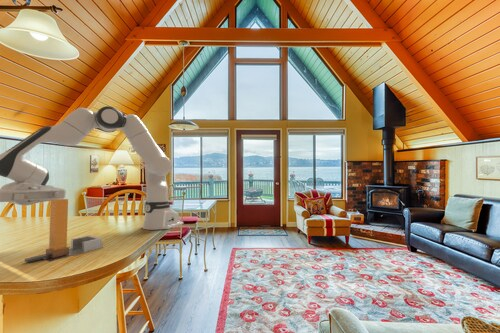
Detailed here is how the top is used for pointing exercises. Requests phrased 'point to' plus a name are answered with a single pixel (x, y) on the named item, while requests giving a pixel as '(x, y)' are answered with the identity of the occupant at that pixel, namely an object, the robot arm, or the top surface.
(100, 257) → the top surface
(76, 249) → the rail plate
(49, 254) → the orange upright panel
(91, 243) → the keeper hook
